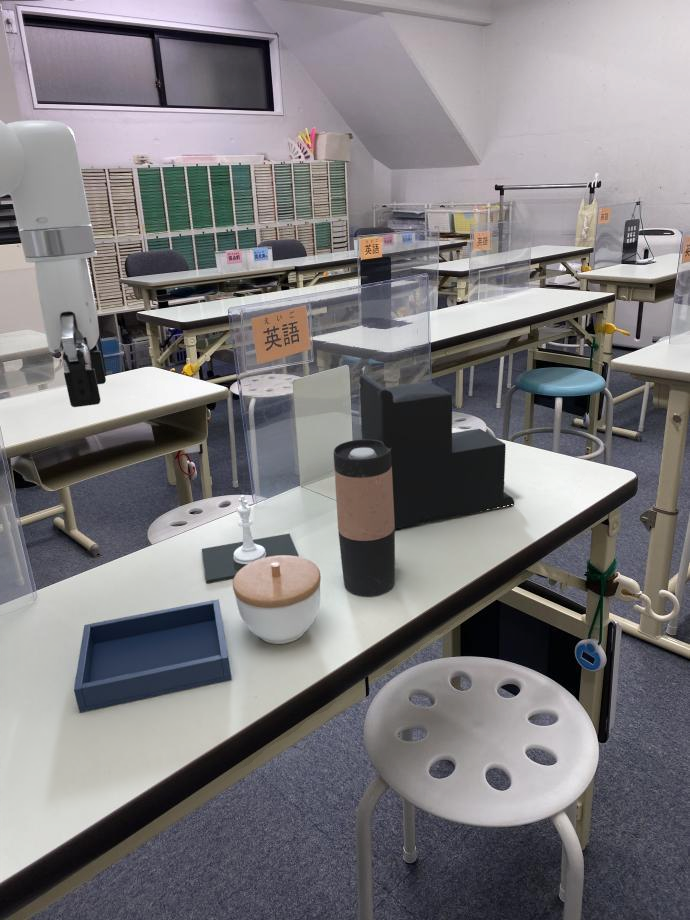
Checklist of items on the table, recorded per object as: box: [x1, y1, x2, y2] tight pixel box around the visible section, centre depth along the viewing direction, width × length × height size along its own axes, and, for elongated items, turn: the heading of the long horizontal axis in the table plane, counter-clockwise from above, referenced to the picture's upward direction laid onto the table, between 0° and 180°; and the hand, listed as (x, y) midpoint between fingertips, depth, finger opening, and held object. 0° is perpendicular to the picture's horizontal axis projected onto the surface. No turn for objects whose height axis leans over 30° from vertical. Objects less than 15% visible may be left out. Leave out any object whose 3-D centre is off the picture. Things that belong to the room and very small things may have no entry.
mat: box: [201, 533, 300, 584], centre depth 104 cm, size 14×10×1 cm
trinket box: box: [232, 555, 322, 645], centre depth 85 cm, size 11×11×9 cm
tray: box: [73, 598, 233, 714], centre depth 81 cm, size 17×13×3 cm
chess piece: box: [234, 495, 266, 564], centre depth 102 cm, size 5×5×10 cm
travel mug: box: [333, 439, 396, 597], centre depth 92 cm, size 8×8×20 cm
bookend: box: [358, 373, 515, 530], centre depth 112 cm, size 23×11×24 cm, turn 108°
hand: (89, 394), depth 82 cm, fingers open, 9 cm apart
